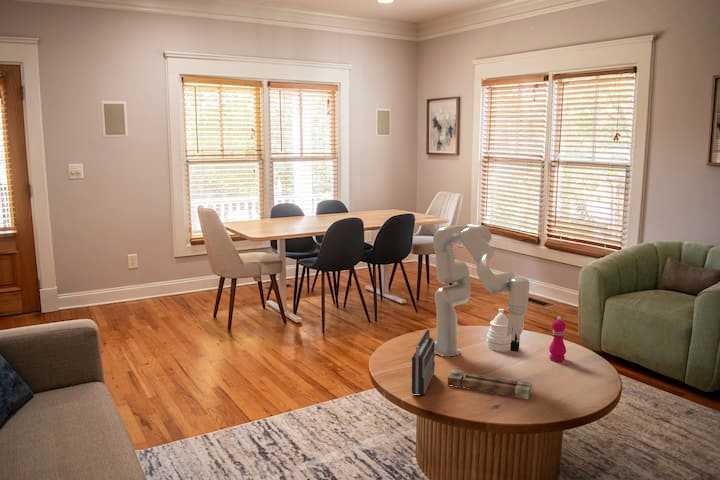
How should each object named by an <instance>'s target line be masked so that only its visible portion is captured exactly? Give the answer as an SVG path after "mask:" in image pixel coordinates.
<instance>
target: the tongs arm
mask: <svg viewBox="0 0 720 480" xmlns="http://www.w3.org/2000/svg"><path fill="white" fill-rule="evenodd" d="M464 377H466V378H472V379H478V380H484V381H490V382H496V383H502V384H508V385H514V386H517V385H520V386H525V387H530V395H531V394H532V388H533V383H532V382H528V381H522V380H518V381H517V380H511V379H506V378H500V377H493V376H487V375H482V374H481V375H480V374H476V373H471V372H466V374H464Z"/></svg>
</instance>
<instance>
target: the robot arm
mask: <svg viewBox="0 0 720 480" xmlns="http://www.w3.org/2000/svg"><path fill="white" fill-rule="evenodd" d="M432 241H433V243H432V244H433V247H434V248H433V249H434V252H435V268H436V278H437V281H438V283H440V284H451V283H452V284H451V285H445V286H441V287H439V288H438V289H437V290H436V291H435V293H434V303H435V308H436V309H435V310H436V331H435V332H436V336H435V337H436V339H435V353H437V354H439V355H443V356H453V357H457V356H459V355H460V353H461V349H460V348H458V313H457V312H456V310H455V307H456V306H460V305H463V304H466V303H468V302H469V300H470V297H471V282H470V281H471V280H470V279H471V276H470V275H471V274H470V270H469V267H468V265H467V264H466V262H464V261H462V260H456V259H455V252H454V249H453V247H452V245H461V244H462V245H463V246H464V247H465V248H466V250H467V251H468V252H469V254H470V255H471V257H472V258H473V259H474V260H475V262H476V273H477V277H478V279H479V281H480V283H481V284H482V285H483V287H484V288H485V289H486V290H487V291H488V292H489V293H491V294H493V295H497V294H502V293H506V292H507V293H508V292H509V295H508V307H507V311H508V313H509V315H508V329H507V336H510V334H511V347H510V351H509V352H516V353H518V352H519V351H520V343H521V342H520V338H521V335H522V333H523V332H524V328H525V327H524V325H525V315H526V314H527V313H528V307H529V294H530V292H529V291H530V281H529V279H527V278H525V277H520V276H519V275H517V274H514V273H513V272H504V273H499V274H494V273H493V271H492V270H491V268H490V267H489V262H490V261H491V260H492V258H493V256H494V254H495V252H494V250H493V248H492V247H491V246H490V244H489V243H490V242H491V241H492V232H491V230H490V229H489V228H488V227H487V226H485V225H478V224H477V225H476V224H468V223H467V224H457V225H447V226H444V227H440V228H438V229H437V230H436V231H435V233H434V234H433V239H432ZM456 355H457V356H456Z"/></svg>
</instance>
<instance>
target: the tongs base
mask: <svg viewBox="0 0 720 480" xmlns="http://www.w3.org/2000/svg"><path fill="white" fill-rule="evenodd" d="M448 385H453V386H457V387H456V388H459V387H460V386H461V387H465V388H464V389H467V388H469V390H473V389H474V391H480V392H485V393H490V394H497V395H500V396H501V395H502V396H507V397H513V398H516V399H524V400H529V399H530V396H531V394H530V387H525V386H520V385H517V386H514V385H508V384H502V383H496V382H490V381H484V380H478V379H472V378H466V377H465V374H464V371H463V370H461V369H451V370H450V374H449V376H447V386H448ZM453 386H452V387H453ZM461 387H460V388H461Z"/></svg>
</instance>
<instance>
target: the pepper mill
mask: <svg viewBox="0 0 720 480" xmlns="http://www.w3.org/2000/svg"><path fill="white" fill-rule="evenodd" d="M551 328H552V334H553V339H552V341H551V343H550V346H549V349H548V351H549V353H550V355H549V360H551V361H552V362H557V363H562V362H565V354H566V353H567V348H566V346H565V342H564V335H565V330H566V328H567V324H566V322H565V321H564V320H562V317H561V316H558V317H556V319H555V320H553V322H552V323H551Z"/></svg>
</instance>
